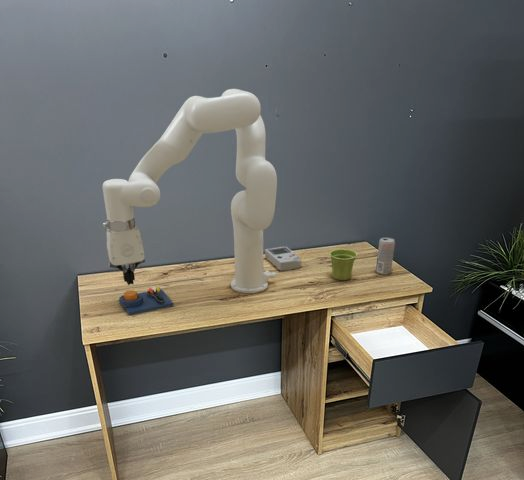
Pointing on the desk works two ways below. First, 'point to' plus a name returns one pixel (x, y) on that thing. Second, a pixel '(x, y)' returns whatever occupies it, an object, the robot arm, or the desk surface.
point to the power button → (130, 295)
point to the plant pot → (342, 263)
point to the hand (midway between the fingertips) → (129, 282)
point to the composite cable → (155, 294)
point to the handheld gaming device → (283, 258)
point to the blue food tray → (145, 303)
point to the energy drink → (385, 256)
